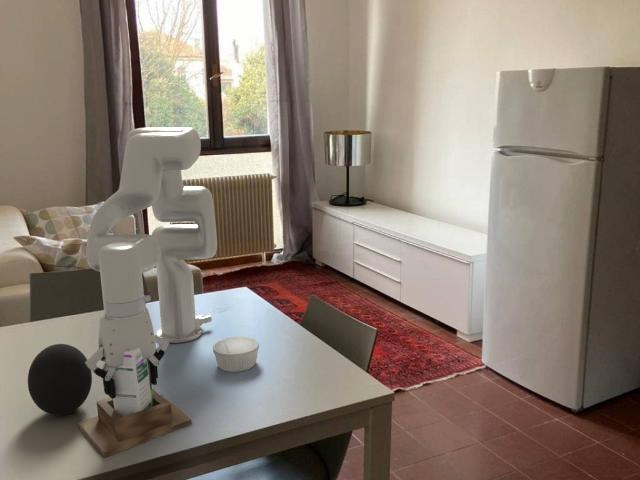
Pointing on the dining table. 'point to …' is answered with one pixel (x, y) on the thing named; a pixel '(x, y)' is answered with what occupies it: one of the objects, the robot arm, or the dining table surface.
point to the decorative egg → (59, 379)
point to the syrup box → (133, 384)
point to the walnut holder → (131, 424)
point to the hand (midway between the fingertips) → (132, 388)
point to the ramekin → (236, 353)
